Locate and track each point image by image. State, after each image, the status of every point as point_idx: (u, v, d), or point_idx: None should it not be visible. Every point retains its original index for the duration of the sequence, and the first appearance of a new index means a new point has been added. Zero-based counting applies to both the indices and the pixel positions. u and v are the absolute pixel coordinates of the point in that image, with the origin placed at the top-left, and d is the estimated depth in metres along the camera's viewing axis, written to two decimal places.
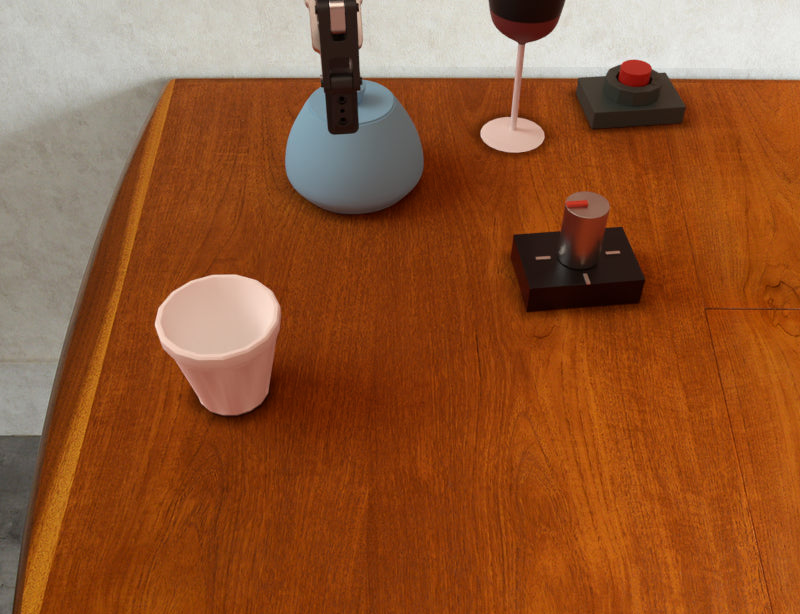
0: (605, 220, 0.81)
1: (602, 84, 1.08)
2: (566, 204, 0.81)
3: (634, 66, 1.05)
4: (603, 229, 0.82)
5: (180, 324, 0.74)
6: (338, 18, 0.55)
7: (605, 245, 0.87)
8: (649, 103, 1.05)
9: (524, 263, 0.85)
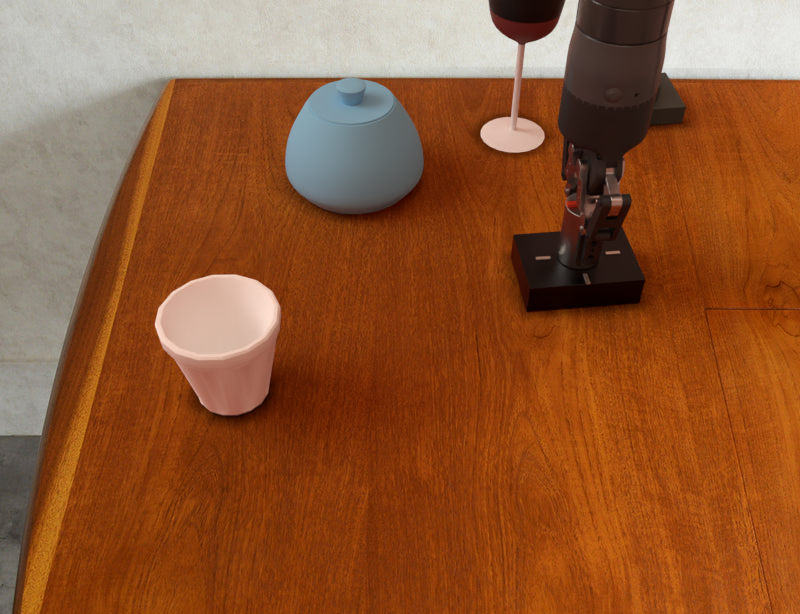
0: None
1: None
2: (566, 204, 0.81)
3: None
4: None
5: (180, 324, 0.74)
6: (615, 210, 0.74)
7: (605, 245, 0.87)
8: None
9: (524, 263, 0.85)
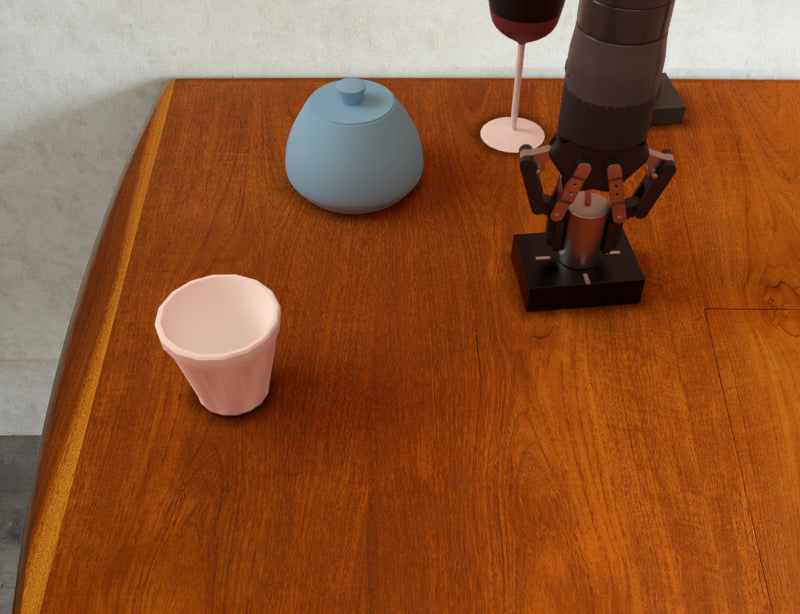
0: (570, 220, 0.81)
1: None
2: None
3: None
4: (569, 229, 0.82)
5: (180, 323, 0.74)
6: None
7: None
8: None
9: (524, 263, 0.85)
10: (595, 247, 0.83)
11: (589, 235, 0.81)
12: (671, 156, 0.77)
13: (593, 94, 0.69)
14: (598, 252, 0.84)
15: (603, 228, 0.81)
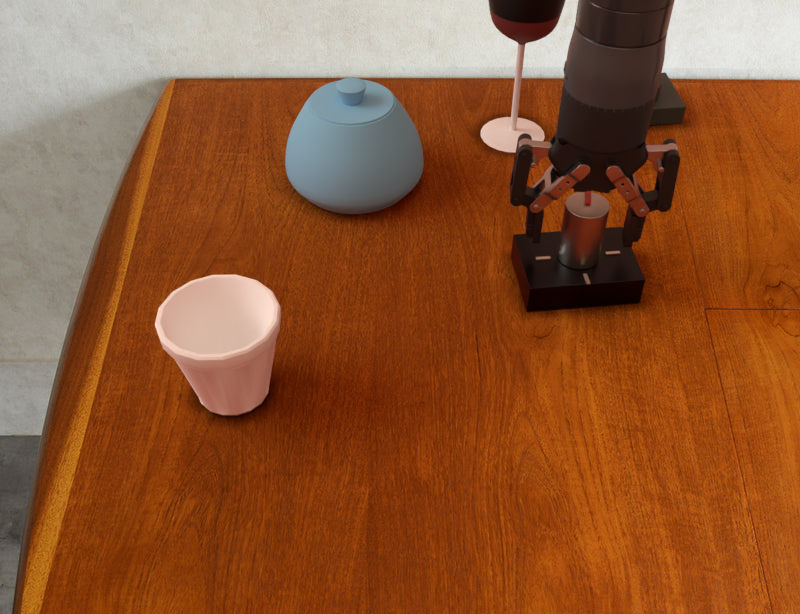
0: (570, 220, 0.81)
1: None
2: None
3: None
4: (569, 229, 0.82)
5: (180, 323, 0.74)
6: (517, 150, 0.77)
7: (605, 245, 0.87)
8: None
9: (524, 263, 0.85)
10: (595, 247, 0.83)
11: (590, 235, 0.81)
12: (672, 145, 0.76)
13: (592, 96, 0.70)
14: (598, 252, 0.84)
15: (603, 227, 0.81)
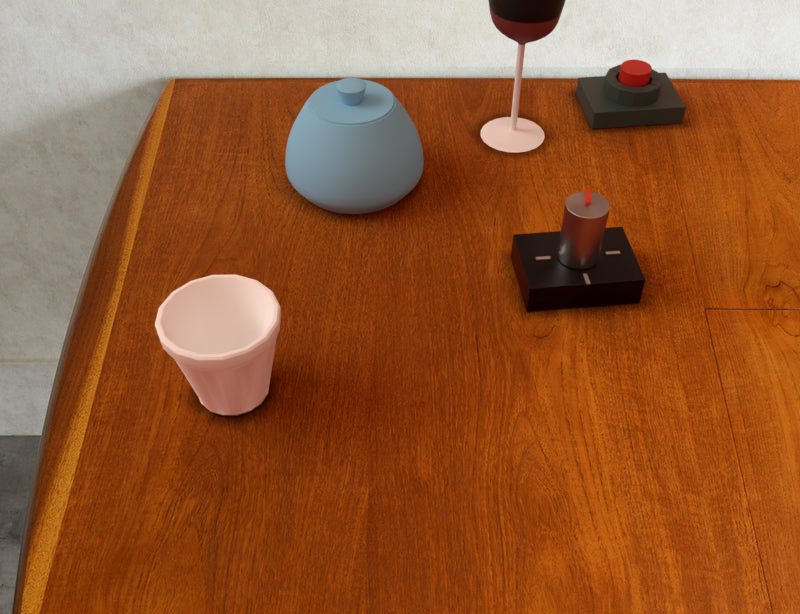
0: (570, 220, 0.81)
1: (602, 84, 1.08)
2: None
3: (634, 66, 1.05)
4: (569, 229, 0.82)
5: (180, 323, 0.74)
6: None
7: (605, 245, 0.87)
8: (649, 103, 1.05)
9: (524, 263, 0.85)
10: (595, 247, 0.83)
11: (590, 235, 0.81)
12: None
13: None
14: (598, 252, 0.84)
15: (603, 227, 0.81)
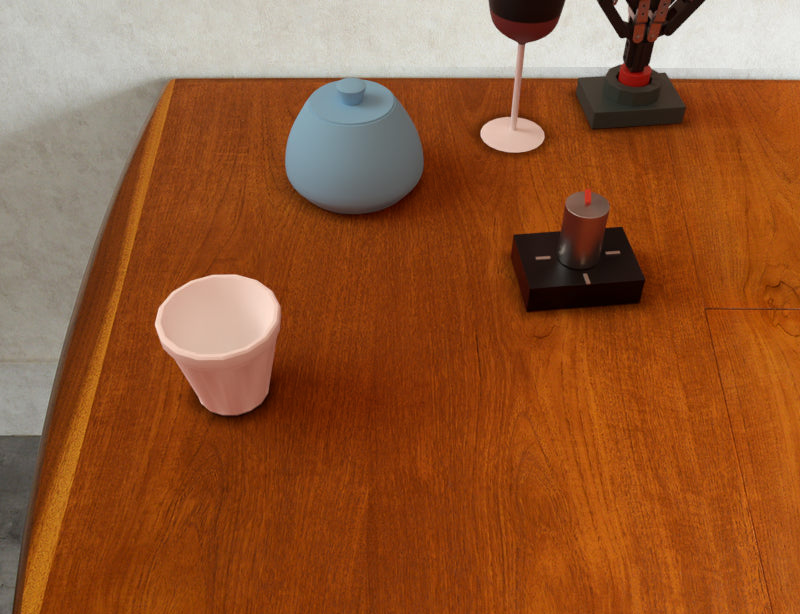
0: (570, 220, 0.81)
1: (602, 84, 1.08)
2: None
3: None
4: (569, 229, 0.82)
5: (180, 323, 0.74)
6: None
7: (605, 245, 0.87)
8: (649, 103, 1.05)
9: (524, 263, 0.85)
10: (595, 247, 0.83)
11: (590, 235, 0.81)
12: None
13: None
14: (598, 252, 0.84)
15: (603, 227, 0.81)
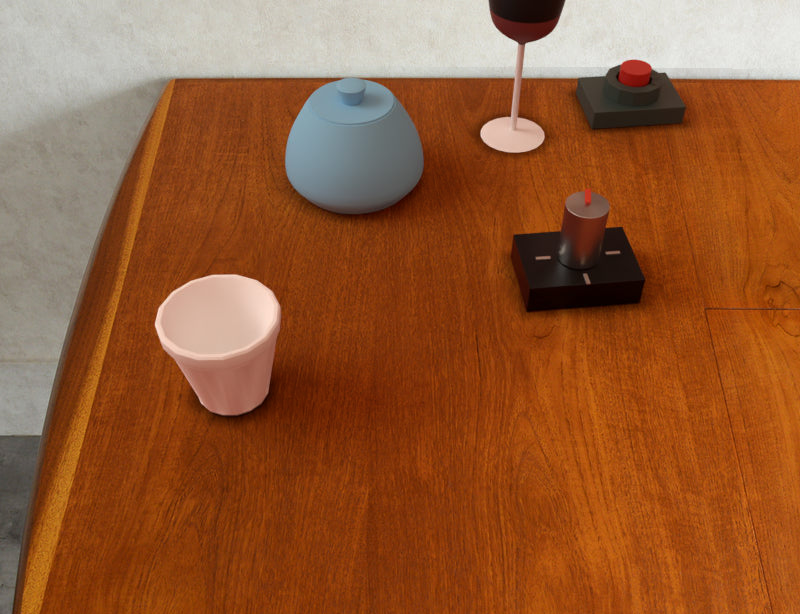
0: (570, 220, 0.81)
1: (602, 84, 1.08)
2: None
3: (634, 66, 1.05)
4: (569, 229, 0.82)
5: (180, 323, 0.74)
6: None
7: (605, 245, 0.87)
8: (649, 103, 1.05)
9: (524, 263, 0.85)
10: (595, 247, 0.83)
11: (590, 235, 0.81)
12: None
13: None
14: (598, 252, 0.84)
15: (603, 227, 0.81)
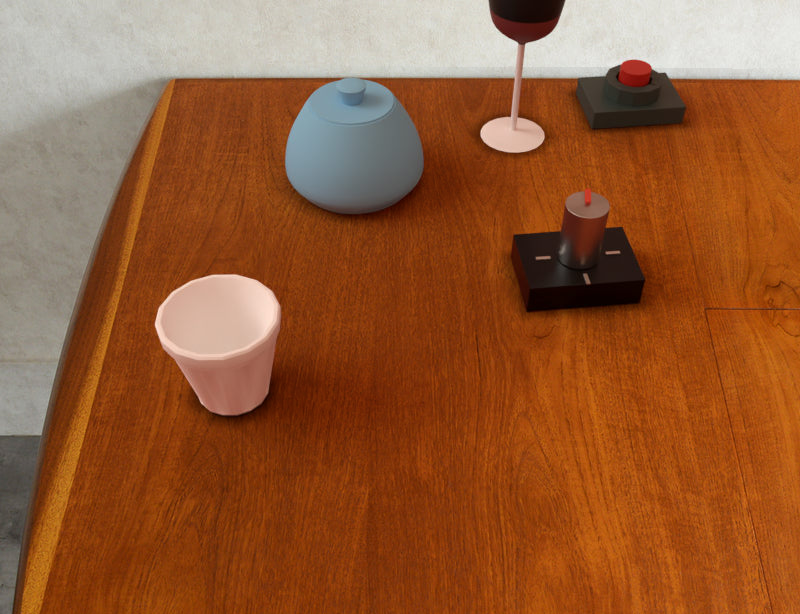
0: (570, 220, 0.81)
1: (602, 84, 1.08)
2: None
3: (634, 66, 1.05)
4: (569, 229, 0.82)
5: (180, 323, 0.74)
6: None
7: (605, 245, 0.87)
8: (649, 103, 1.05)
9: (524, 263, 0.85)
10: (595, 247, 0.83)
11: (590, 235, 0.81)
12: None
13: None
14: (598, 252, 0.84)
15: (603, 227, 0.81)
